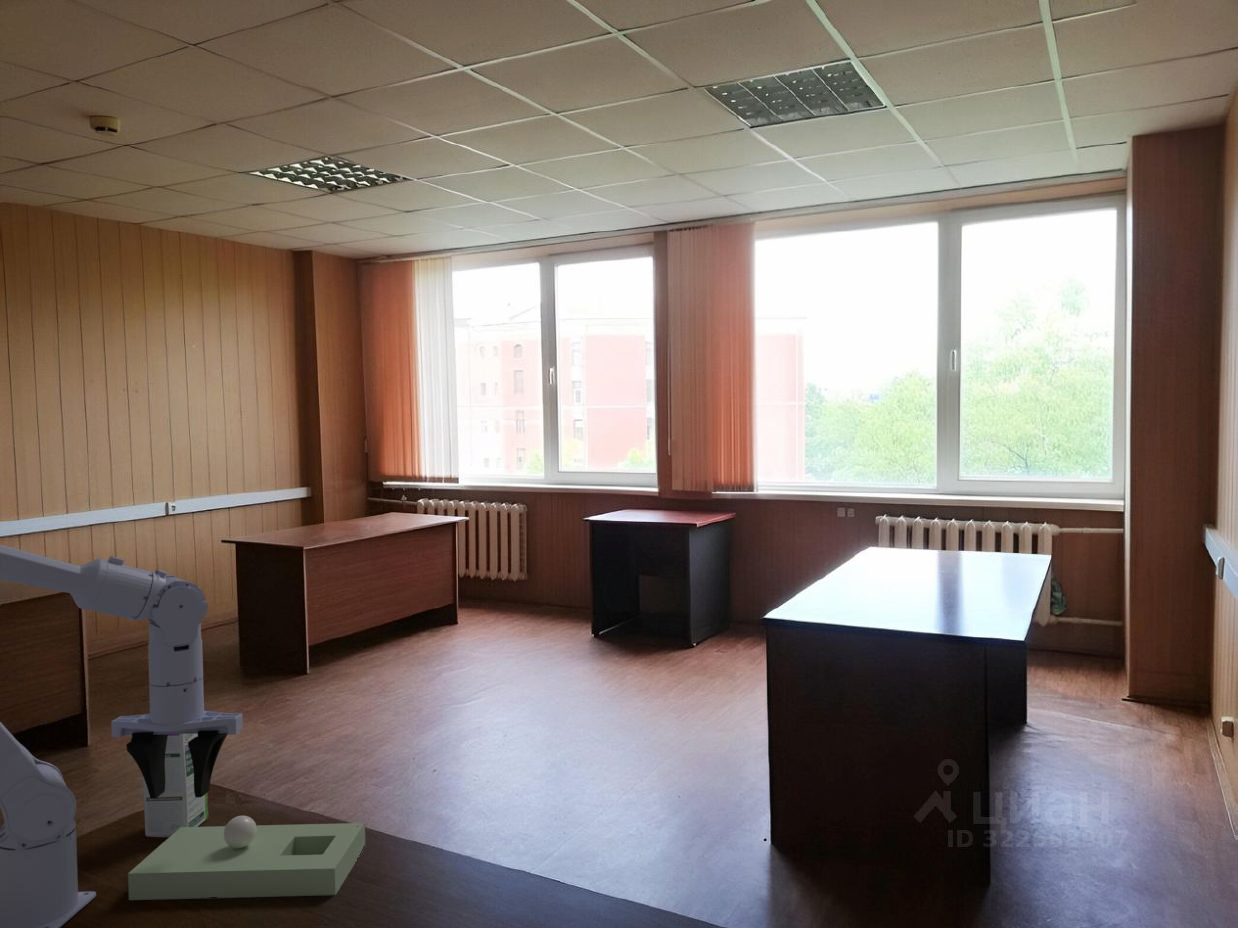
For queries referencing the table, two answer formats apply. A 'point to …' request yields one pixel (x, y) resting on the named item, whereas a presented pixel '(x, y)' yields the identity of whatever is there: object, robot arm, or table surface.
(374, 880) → the table surface
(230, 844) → the ball
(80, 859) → the table surface
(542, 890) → the table surface
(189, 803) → the syrup box
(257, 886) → the green board
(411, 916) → the table surface
